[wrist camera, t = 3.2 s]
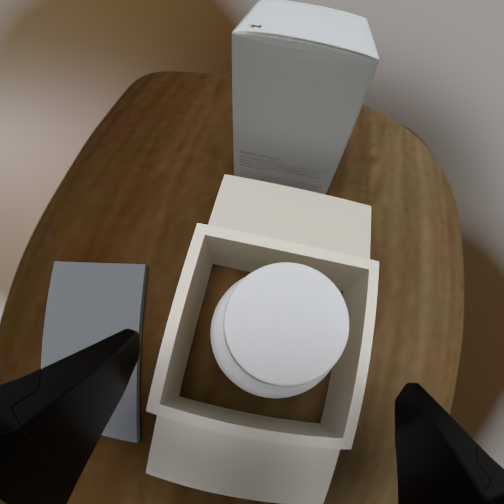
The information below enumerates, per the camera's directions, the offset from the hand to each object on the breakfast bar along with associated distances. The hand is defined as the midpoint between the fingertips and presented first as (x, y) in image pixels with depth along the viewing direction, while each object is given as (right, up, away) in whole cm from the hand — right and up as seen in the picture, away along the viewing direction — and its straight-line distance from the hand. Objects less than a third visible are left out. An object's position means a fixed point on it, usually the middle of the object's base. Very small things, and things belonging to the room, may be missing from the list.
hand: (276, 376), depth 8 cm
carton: (0, -2, +9) cm, 9 cm away
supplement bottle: (0, -2, +9) cm, 10 cm away
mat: (-12, -3, +9) cm, 15 cm away
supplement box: (+2, +12, +15) cm, 19 cm away
